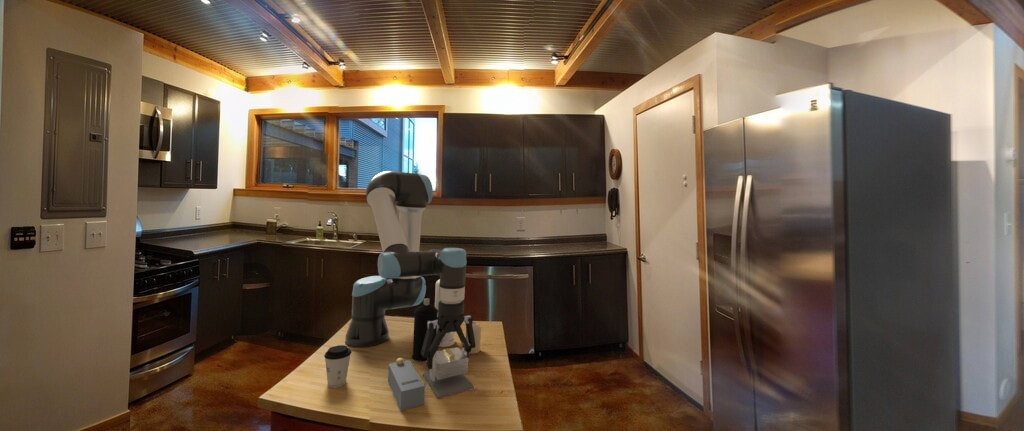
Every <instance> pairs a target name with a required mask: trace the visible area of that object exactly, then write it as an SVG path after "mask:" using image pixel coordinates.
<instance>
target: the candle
mask: <svg viewBox="0 0 1024 431" xmlns="http://www.w3.org/2000/svg"><path fill="white" fill-rule="evenodd" d="M472 327H473V333H474V339H475V345H476V346H475V348H472V349H471V352H469V355H470V354H471V355H473V354H474V355H475V354H477V353H480V350H481V337H482V336H481V335H482V327H481V325H480V324H479V323H477V322H475V321H473V323H472ZM465 338H466V340H467V342H468V343H469V341H468V336H467V330H466V329H465Z"/></svg>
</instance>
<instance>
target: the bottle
mask: <svg viewBox="0 0 1024 431" xmlns="http://www.w3.org/2000/svg"><path fill="white" fill-rule="evenodd" d="M439 284H440V278H439V279H438V280H436V282H435V290H434V291H435V293H434V294H435V296H434V307H435V308H436V309H437V310H438V304H439V301H440V300H439ZM437 317H438V313H437ZM438 328H439V325H438V324H437V330H438ZM436 334H437V333H436ZM455 335H456V332H449V333H446V334H445V336H444V337H443V339H442V341H441V343H440V345H439V347H438V348H440V347H441V348H447V347H448V348H449V347H451V346H453V345H454V344H455V339H456V338H455Z"/></svg>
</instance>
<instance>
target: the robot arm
mask: <svg viewBox="0 0 1024 431" xmlns="http://www.w3.org/2000/svg"><path fill="white" fill-rule="evenodd" d="M433 189H434V188H433V185H432V182H431V179H430V177H428V176H427V175H425V174H421V173H414V172H406V171H404V172H403V171H396V170H395V171H394V170H386V171H385V170H384V171H381V172H379V173H377V174H375V175H374V176H373V178H371V179H370V181H369V182H368V184H367V187H366V190H365V197H366V201H367V204H368V205H369V206H370V207H371V208H372V214H373V216H374V217H373V218H374V222H375V225H376V230H377V234H378V237H379V242H380V246H381V249H382V252H381V253H380V254H379V255H378V258H377V274H378V275H371V276H366V277H363V278H360V279H357V280H356V281H355V282H354V283H353V284H352V286H353V287H352V293H351V296H352V298H351V299H352V300H351V301H352V302H351V320H350V323H349V325H348V329H347V331H346V334H345V341H344V342H345V344H346V345H347V346H350V347H355V348H366V347H373V346H378V345H380V344H382V343H385V342H386V341H388V339H389V334H390V332H389V328H388V323H387V321H386V318H385V316H386V311H388V310H395V309H402V308H412V307H415V306H420V305H421V303H422V302H424V299H425V296H426V292H427V285H426V279H425V278H424V277H423V276H439V279H440V284H439V300H440V301H439V304H438V317H437V319H436V320H435V321H430V320H429V321H427V331H426V335H425V339H424V343H423V346H422V350H421V354H422V356H423V357H424V358H427V361H426V367H427V368H428V370H429V372H430V375H429V377H430V379H431V380H432V381H435V365H436V358H435V357H434V355H435V353H436V351H438V348H440V347H439V345H440V343H441V341H442V339H443V337H444V336H445V334H446V333H449V332H455V333H456V334H457V336H458V339H459V340H460V342H461V345H462V347H463V348H460V350H461V351H462V352H463V353H464V354H465V355H466V356H467V357H468V361H469V360H470V353H469V352H471V349H472V348H475V346H476V345H475V339H474V333H473V327H472V323H473V322H474V317H472V316H471V315H470V314H467V315H464V314H465V313H464V312H465V310H464V309H465V301H464V300H465V293H466V292H465V290H466V289H465V288H466V274H467V271H466V270H467V263H468V261H467V251H466V249H464V248H459V247H444V248H442V249H440V248H439V249H435V248H434V249H433V248H432V249H430V250H427V251H426V250H425V251H424V250H423V251H420V245H421V244H420V243H421V232H422V220H423V219H422V218H423V217H422V216H423V212H424V211H425V210H426V209H427V205H428V204H430V203H431V202H432V201H433V200H432V199H433V195H434V194H433V193H434V190H433ZM398 210H399V214H398ZM463 323H465V331H466V330H467V336H468V341H469V343H468V342H467V340H466V335H465V334H464V330H463V329H462V325H463ZM437 324H438V325H439V328H438V330H437V334H436V336H435V338H434V340H433V342H432V344H431V340H432V337H433V333H434V329H435V327H436V325H437ZM430 344H431V346H430Z"/></svg>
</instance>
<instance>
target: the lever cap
mask: <svg viewBox="0 0 1024 431" xmlns="http://www.w3.org/2000/svg"><path fill="white" fill-rule="evenodd" d="M434 357H435V358H436V365H435V376H436V378H437V379H438V380H440V379H444V378H448V377H452V376H456V375H461V374H464V375H465V374H468V369H469V360H468V357H467V356H466V355H465V354H464V353H463V352H462V351H461V348H460V347H451V348H449V347H448V348H447V347H445V348H443V349H441V350H437V351H436V353H435V355H434Z"/></svg>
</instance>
